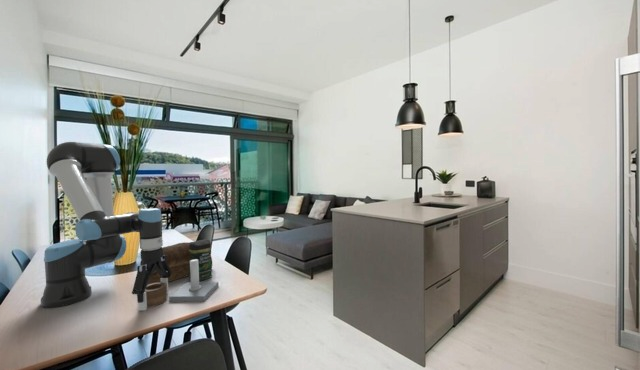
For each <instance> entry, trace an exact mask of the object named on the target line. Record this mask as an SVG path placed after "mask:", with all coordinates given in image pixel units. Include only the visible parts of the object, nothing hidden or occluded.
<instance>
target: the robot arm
mask: <svg viewBox="0 0 640 370" xmlns="http://www.w3.org/2000/svg"><path fill="white" fill-rule="evenodd" d="M120 158H121V157H120V154H119V153H118V151H117V148H116V149H115V147H114V146H112V145H110V144H104V143H93V142H92V143H91V142H90V143H89V142H76V141H66V142H65V141H64V142H61V143H59V144H57V145H56V146H54V147H53V148H52V149H51V150H50V151H49V153H48V154H47V156H46V167H47V169H48V171H49V173H50V174H51V175H52V176H53V177H56V179H57V181H58V182H59V184H60V186H61V188H62V190H63V192H64V194H65V196H66V198H67V199H68V201H69V203H70V205H71V207H72V209H73V210H74V212H75V214H76V216H77V218H78V221H77V222H76V223H75V227H74V231H75V235H76V237H77V238H74V239H68V240H64V241H59V242H56V243H54V244H51V245H49V246H47V248H46V249H45V250H44V256H43V262H44V271H45V272H44V273H45V275H44V276H45V286H44V291H43V294H42V296H41V298H40V306H41V307H42V308H44V307H47V308H48V309H52V308H51V307H53V308H59V307H64V306H68V305H72V304H74V303H78V302H81V301H83V300H86V299H87V298H89V297H90V296H91V295H92V290H93V289H92V286H91V285H90V283H89V281H88V279H87V277H86V270H87V269H90V268H93V267H97V266H101V265H105V264H108V263H109V264H110V263H113V262H115V261H116V262H117V261H119V260H120V259H122V258H123V256H124V255H125V254H126V251H127V241H126V240H127V239H126V238H125V236H124V235H125V234H130V233H139V249H140V261H141V260H143V261H144V264H143V265H142V266H140V265H138V266H137V268H136V271H137V272H136V276H135V279H134V283H133V288H132V291H131V294H132V295H136V298H137V305H138V306H137V307H138V311H146V310H148V307H147V299H146V292H145V289H146V286H147V284H148V281H149V279H150V276H151V275H152V274H153V273H154V272H155V271H157V272H158V273H159V274H160V276H161V277H163V278H161V279H160V282H163V283H166V295H168V294H169V282H168V277H170V276H171V275H169V274H171V270H170V268H169V265H168V263H167V260H166V255H163V247H164V243H163V242H164V241H163V217H162V211H161V210H162V209H160V208H157V207H156V208H155V207H152V208H142V209H140V210H138V212H133V211H132V212H126V213H124V214H117V215H115V213H114V200H113V188H112V187H113V186H112V176H113V175H114V174H115V173H116V172H115V171H116V170H118V169H119V168H120V165H121V164H120V163H121V159H120ZM146 271H147V272H146ZM47 308H46V309H47Z"/></svg>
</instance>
